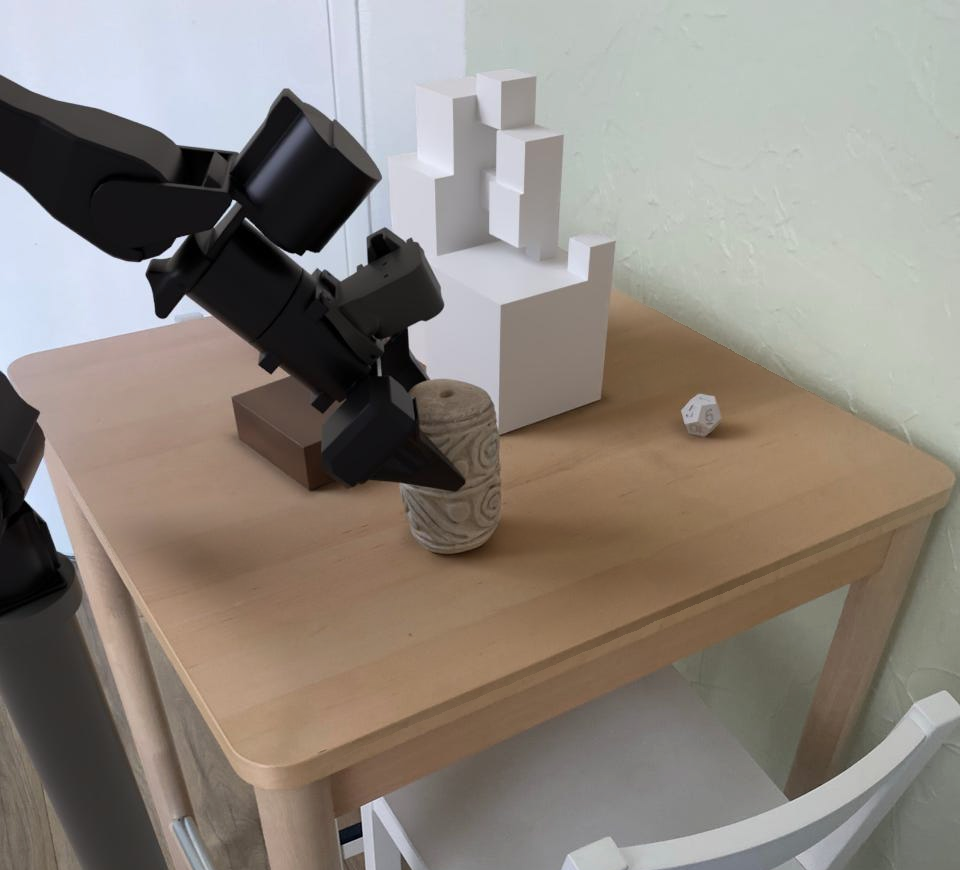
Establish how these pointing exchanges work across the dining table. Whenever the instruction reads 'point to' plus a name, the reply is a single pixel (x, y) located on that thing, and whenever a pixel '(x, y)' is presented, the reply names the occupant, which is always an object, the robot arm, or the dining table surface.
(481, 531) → the carving
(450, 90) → the building blocks
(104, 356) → the dining table surface
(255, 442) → the walnut block
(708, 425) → the game die
